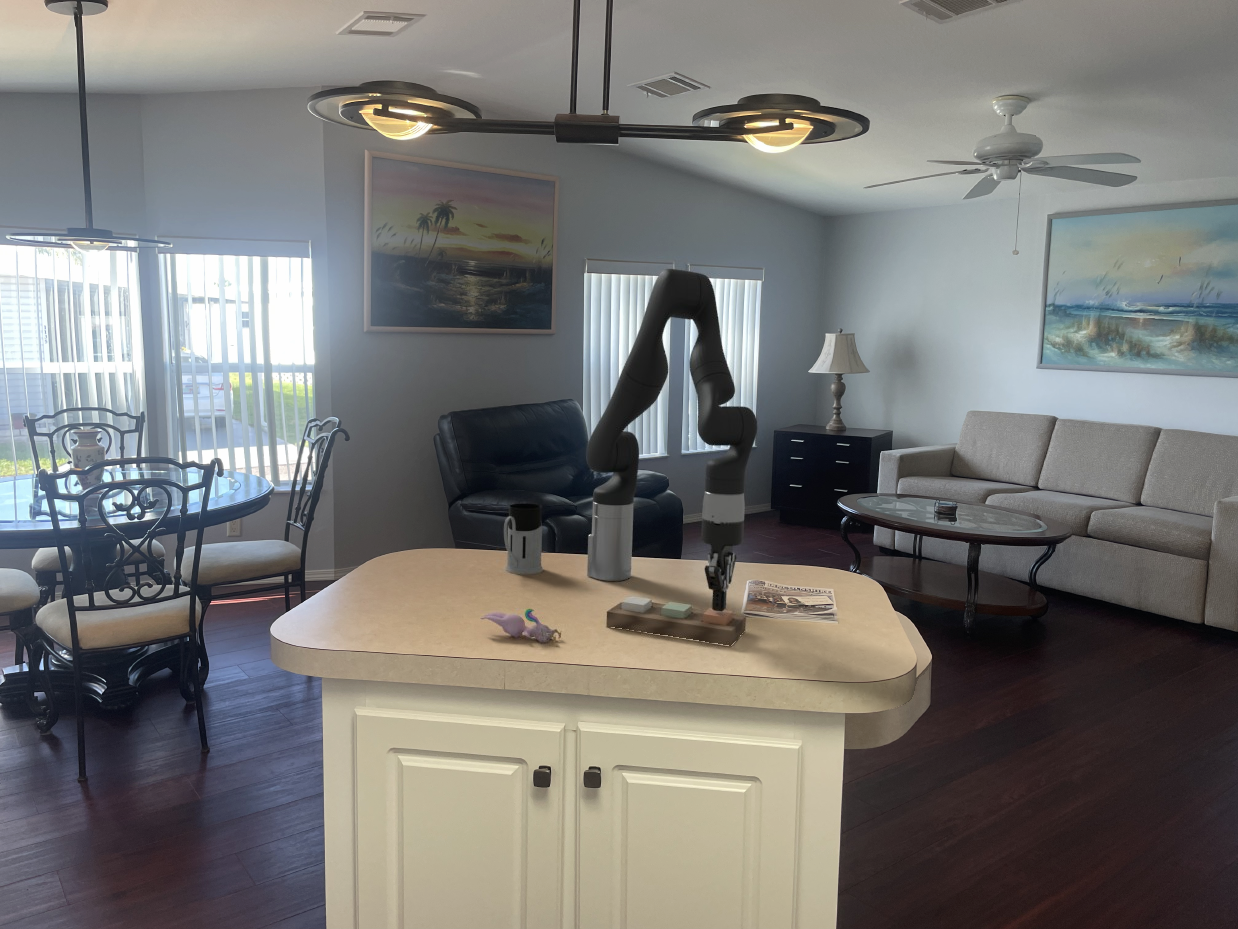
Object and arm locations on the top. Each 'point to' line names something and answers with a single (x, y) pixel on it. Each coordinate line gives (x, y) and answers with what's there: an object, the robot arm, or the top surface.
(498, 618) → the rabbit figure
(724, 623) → the terracotta button
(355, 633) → the top surface
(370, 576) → the top surface
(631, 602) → the offwhite button
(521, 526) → the glass holder
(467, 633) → the top surface
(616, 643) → the top surface
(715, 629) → the button panel
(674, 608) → the sage button
